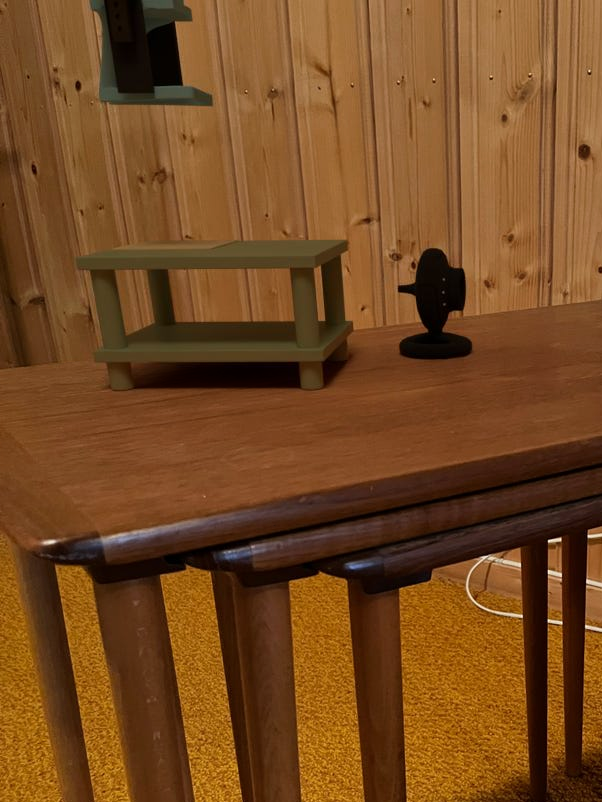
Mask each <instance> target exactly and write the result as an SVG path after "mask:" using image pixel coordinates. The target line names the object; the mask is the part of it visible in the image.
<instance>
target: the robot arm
mask: <svg viewBox="0 0 602 802" xmlns="http://www.w3.org/2000/svg"><path fill="white" fill-rule="evenodd" d="M183 3H184V4H185V1H184V0H183ZM104 5H105V11H106V18H107V24H108V31H109V37H110V43H111V50H112V56H113V63H114V69H115V76H116V82H117V88H118V93H122V94H124V93H155V92H154V87H161V86H184V79H183V74H182V73H183V72H182V65H181V58H180V50H179V42H178V35H177V27H176V21H173V22H171V23H169V24H166V25H162V26H159V27H156V28H154V29H152V30H151V31H149V32H148V33H147V34H146V28H145V21H144V14H143V6H142V0H104Z"/></svg>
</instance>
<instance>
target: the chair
mask: <svg viewBox="0 0 602 802" xmlns="http://www.w3.org/2000/svg"><path fill="white" fill-rule="evenodd" d="M183 1H184V0H142V6H143V14H144V21H145V28H146V34H147V33H148V32H149V31H151V30H152V29H154V28H156V27H159V26H162V25H166V24H169V23H171V22H173V21H175V23H176V22H181V23H183V22H184V23H185V22H186V23H187V22H190V23H191V22H193V12H192V8H191V7H189V6H187V5H185V2H184V3H183ZM89 7H90V10H91V11H93V12H95V13H96V14H97V15H98V17H99V19H100V23H101V33H102V34H101V59H100V72H99V73H100V74H99V83H98V84H99V85H98V97H99V102H100V103H108V104H109V105H113V106H178V107H179V106H181V107H182V106H183V107H184V106H186V107H214V103H213V102H214V101H213V99H214V98H213V94H211V93H209V92H206V91H205V90H202V89H199V88H198V87H195V86H192V85H183V86H161V87H154V92H155V93H124V94H122V93H118V88H117V82H116V76H115V69H114V63H113V56H112V50H111V43H110V37H109V31H108V24H107V18H106V11H105V5H104V0H89Z"/></svg>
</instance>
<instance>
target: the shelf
mask: <svg viewBox="0 0 602 802" xmlns="http://www.w3.org/2000/svg"><path fill="white" fill-rule="evenodd" d="M348 251H349V243H348V239H282V240H281V239H276V240H275V239H273V240H272V239H267V240H266V239H265V240H262V239H261V240H259V239H258V240H256V239H255V240H239V239H200V240H199V239H195V240H194V239H193V240H191V239H190V240H187V239H186V240H185V239H184V240H183V239H182V240H181V239H180V240H144V241H140V242H136V243H131V244H127V245H123V246H118V247H114V248H110V249H106V250H102V251H98V252H97V251H96V252H93V253H89V254H88V253H87V254H84V255H80V256H76V257H75V258H74V259H75V264H76V269H77V271H89V276H90V281H91V286H92V292H93V297H94V303H95V309H96V313H97V319H98V325H99V330H100V336H101V341H102V346H100V347H97V348H95V349H94V350H92V357H93V362H94V363H102V364H103V363H105V364H106V370H107V375H108V381H109V385H110V390H112V391H128V390H132V389H134V388H135V381H134V375H133V370H132V369H133V368H132V363H282V362H283V363H288V362H290V363H293V362H294V363H295V362H297V363H298V370H299V371H298V372H299V381H300V383H299V384H300V388H301V390H307V391H312V390H313V391H314V390H321V389H323V388H324V387H325V386H324V385H325V384H324V371H323V362H325V361H326V359H327V360H328V361H330V362H345V361H348V360H349V349H348V337H349V336H350V335H351V334H352V333H353V332H354V330H355V329H354V321H353V320H346V306H345V305H346V304H345V292H344V291H345V290H344V280H343V264H342V254H344V253H346V252H348ZM319 267H320V276H321V286H322V287H321V289H322V300H323V313H324V320H319V311H318V300H317V288H316V287H317V285H316V275H315V269H317V268H319ZM253 269H255V270H257V269H258V270H259V269H260V270H261V269H289V277H290V288H291V296H292V297H291V298H292V306H293V307H292V309H293V317H294V320H267V321H266V320H263V321H262V320H261V321H259V320H257V321H256V320H255V321H253V320H249V321H247V320H245V321H241V320H240V321H176V315H175V308H174V301H173V293H172V287H171V281H170V280H171V279H170V274H169V270H253ZM139 270H141V271H142V270H144V271H146V275H147V276H146V277H147V282H148V283H147V284H148V289H149V295H150V301H151V308H152V315H153V321H154V322H153V323H151V324H149V325H147V326H145V327H142V328H140V329H138V330H135V331H133V332H130V333H129V334H126V328H125V323H124V317H123V310H122V305H121V298H120V293H119V287H118V281H117V275H116V271H139Z"/></svg>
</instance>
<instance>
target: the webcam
mask: <svg viewBox="0 0 602 802" xmlns="http://www.w3.org/2000/svg"><path fill="white" fill-rule="evenodd" d="M397 293H399V294H407V295H412V296H414V297H415V304H416V311H417V313H418V317H419V319H420V321H421V324H422V325H423V327H424V328H425V329H426V330H427V331H426V332H420V333H417V334H413V335H410V336H406V337H404V338H403V339H401V341H400V342H399V344H398V349H399V352H400V353H401V354H402V355H404V356H407V357H409V358H414V359H415V358H417V359H432V360H433V359H450V358H457V357H463V356H467V355H469V353H471V352H472V350H473V341H472V340H471V339H470V338H468V337H466V336H464V335H460V334H458V333H457V334H456V333H452V332H448V331H447V332H446V331H443V330H444V328H445V326H446V323H447V322H448V319H449V317H450V313H452V312H463V311H464V309H465V307H466V300H467V280H466V272H465V269H464V268H463V267H453V266H451V265H450V263H449V260H448V256H447V254H446V253H445V252H444V251H443V249H441V248H437V247H429V248H426V249H425V250H424V251H422V252H421V255H420V257H419V259H418V263H417V267H416V270H415V279H414V282H413V283H409V284H400V285H399V284H398V285H397Z"/></svg>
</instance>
